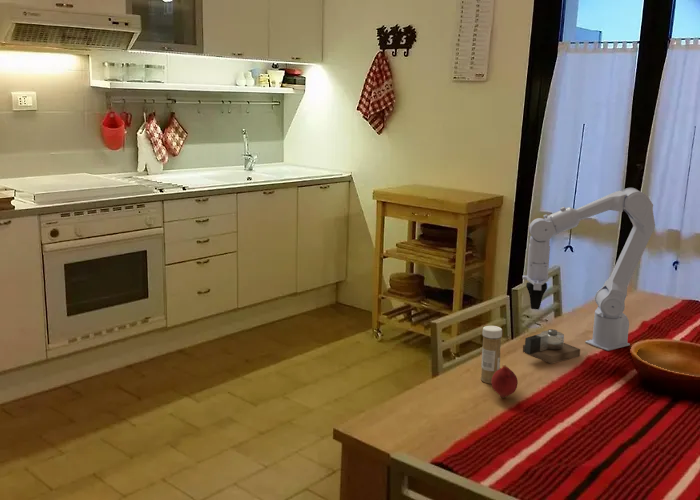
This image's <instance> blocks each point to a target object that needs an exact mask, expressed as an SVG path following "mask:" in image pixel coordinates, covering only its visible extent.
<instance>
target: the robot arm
mask: <svg viewBox="0 0 700 500" xmlns="http://www.w3.org/2000/svg"><path fill="white" fill-rule="evenodd" d="M559 209H560V210H558V211H555V212H553V213H551V214H543V218H541V217H537V218H534V219H533V220H532V221H531V222H530V223H529V226H528V228H527V229H528V232H529V234H530V236H529V244H528V249H527V250H528V253H527V268H526V269H527V270H526V275H522V280H526V281H527V282H526V285H525V286H526V289H527V291H528V296H529V302H530V309H532V310H540V308H541V305H542V300H543V297H544V295H545V293H546V291H547V289H548V284H547V282H549V269H550V268H549V266H550V252H551V251H550V250H551V246H550V244H551V243H550V240H551V239H552V237H553V235H554V236H555V235H558V234H561V233H564V232H566V231H569V230H571V229H574V228H576V227H578V226H579V224H580V222H581V221H582V220H584V219H587V218H591V217H593V216H596V215H600V214H602V213H604V212H608V211H614V212H620V213H621V212H622V213H623V212H625V213H626V214H627V215H628V218H629V220H630V222H631V223H632V228H631V230H630V232H629V234H628V237H627V239H626V241H625V244H624V246H623V248H622V250H621V252H620V254H619V256H618V258H617V260H616V263H615V265H614V267H613V269H612V272H611V274H610V276H609V278H608V279H606V280H605V282H604V283H603V286H601V288H599V289H598V290H597V292H595V296H594V301H595V304H596V305H597V308H596V309H595V310H594V315H593V316H594V319H593V327H592V328H593V329H592V339H588V340H585V344H587V345H591V346H594V347H596V348H598V349H602V350H605V351H607V352H610V351H613V350H616V349H620V348H624V347H628V346H630V345H631V344H630V342H628V339H629V338H628V337H629V328H630V320H629V318H628V316H627V315H626V314H625V313H624V311H625V301H626V298H627V296H628V285H630V284H629V283H630V281H631V279H632V278H633V275H634V273H635V270H636V268H637V267H638V264H639V263H640V260H641V258H642V256H643V254H644V251H645V249H646V248H647V245H648V244H649V242H650V239H651V237H652V235H653V233H654V231H655V227H656V222H655V216H654V215H655V214H654V211H653V209H654V204H653V202H652V201H651V199H650V198H649V196H648V195H647V194H646V193H644V192H643V191H640V190H638V189H637V188H636V187H635V188H634V187H627V188H624V189H623V190H616V191H614V192H612V193H609V194H607V195H605V196H602V197H600V198H598V199H596V200H594V201H591V202H588V203H586V204H584V205H582V206H580V207H578V208H573V207H570V206H569V207H568V206H567V207H565V206H562V207H560V208H559Z"/></svg>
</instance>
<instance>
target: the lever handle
mask: <svg viewBox="0 0 700 500" xmlns="http://www.w3.org/2000/svg"><path fill="white" fill-rule="evenodd" d="M564 340H565V334H564V333H563V332H560V331H558V330H557V329H552V328H551V329H548V330H543V331H541V332H540V333H537V334H534V335H532V336H528V337H525V341H524V345H525V353H524V354H526V355H529V354H533V353H536V352H540V351H543V350H546V349H562V348H563V343H565V342H564Z"/></svg>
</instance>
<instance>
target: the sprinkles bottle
mask: <svg viewBox="0 0 700 500" xmlns="http://www.w3.org/2000/svg"><path fill="white" fill-rule="evenodd" d="M482 337H483V338H482V347H481V349H482V350H481V365H480V367H481V373H480V380H481V381H482V382H484V383H485V384H491V380H492V377H493V375H494V373H495V372H496V371H497V370H499V369H500V368H501V367H500V366H501V339H502V337H503V329H502V328H501V327H499V326H496V325H486V326H484V327H483V328H482ZM491 385H492V384H491Z"/></svg>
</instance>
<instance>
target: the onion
mask: <svg viewBox="0 0 700 500" xmlns="http://www.w3.org/2000/svg"><path fill="white" fill-rule="evenodd" d="M491 387H492V388H493V390H494V391H495V392H496V393H497V394H498V395H499V396H500V397H501V398H503V399H505V398H507V397H508V396H511V395H512V394H513V393H515V392H516V390H517V388H518V378H517V375H516V374H515V373H514V371H513V370H511V369H510V368H509V367H508V366H507V364H505V363H502V367H500V369H499V370H497V371H496V372H495V373H494V375H493V377H492V380H491Z"/></svg>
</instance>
